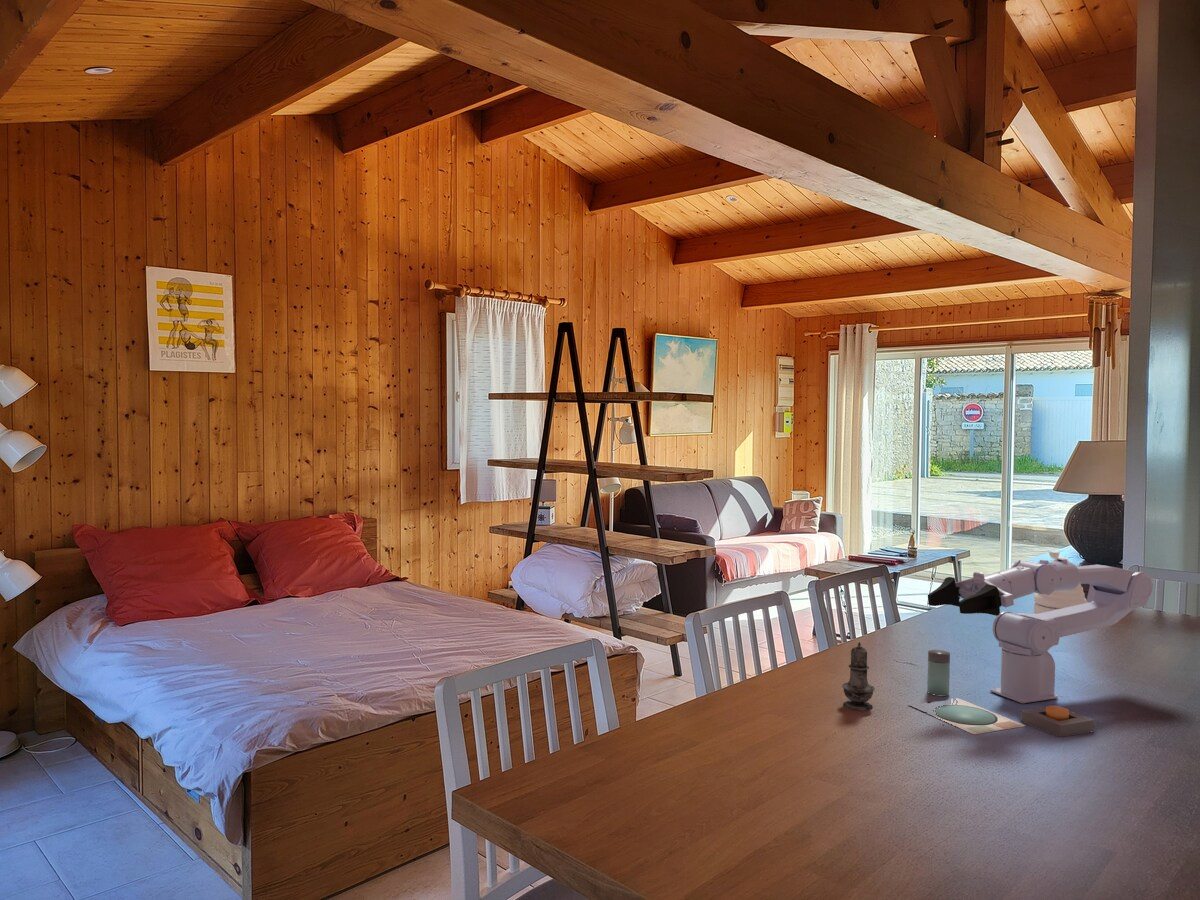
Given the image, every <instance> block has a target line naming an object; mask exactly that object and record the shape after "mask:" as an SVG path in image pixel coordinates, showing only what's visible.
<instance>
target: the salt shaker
mask: <svg viewBox="0 0 1200 900" xmlns="http://www.w3.org/2000/svg"><path fill="white" fill-rule="evenodd" d="M861 645H862V644H861V642H860V641H858V643H857V645H856V646H854V647H853V648H851V651H850V664H848V668H850V672H849V680H848V682H845V683H844V682H843V684H842V685H841V687H842V689H843V693H844V696H845V697H846V698H847V700H846V701H844V702H843V707H845V708H846V709H849V710H852V711H858V710H861V711H862V710H863V711H864V710H867V711H870V709H871V710H872V709H873V707H874V706H873V704H871V703H870V702H868V701H870V700H871V699H872V697H873V695H874V692H875V689H876V688H875V687H874V686H873V685H872V684H870V683H869V681H868V670H869V669H870V666H868V651H867V649H866V648H864V647H862V646H861ZM861 711H860V712H861ZM863 711H862V712H863Z"/></svg>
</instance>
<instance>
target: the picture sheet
mask: <svg viewBox="0 0 1200 900" xmlns="http://www.w3.org/2000/svg"><path fill="white" fill-rule="evenodd" d="M955 698H956V700H957V701H958V703H957V705H955V704H956V700H955V701H954V703H953V698H950V699H951V704H950V705H946V702H945V705H943V706H941V707H940V706H938V708H937V707H936V708H935V709H936V710H935V712H936V714H935V715H937V714H938V715H937V716H938V717H939V718H938V720H939V719H940V718H941V720H940V721H942V722H944V721H945V722H944V723H946V722H947V723H946V724H948V723H949V725H951V724H952V725H951V726H953V727H955V726H956V727H955V728H957V727H958V728H957V729H960V730H963V732H964V731H965V732H966V733H968V734H971V735H979V734H986V733H991V732H998V731H1004V730H1010V729H1017V728H1022V727H1027V724H1025V723H1024V724H1023V723H1022V722H1018V721H1016V720H1013V719H1011V718H1008V717H1006V716H1004V715H1001V714H999V713H996V712H994V711H991V710H988V709H986V708H983V707H982V706H981V707H980V706H978V705H976V704H974V703H971V702H968V701H966V700H963V699H961V698H958V697H955ZM952 703H953V705H952ZM939 708H940V709H939ZM933 712H934V709H933ZM935 719H937V717H936V718H935ZM942 719H943V720H942Z"/></svg>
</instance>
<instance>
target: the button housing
mask: <svg viewBox="0 0 1200 900" xmlns="http://www.w3.org/2000/svg"><path fill="white" fill-rule="evenodd" d="M1046 707H1047V706H1043V707H1035V708H1030V709H1023V710H1021V711H1020V712H1021V714H1020V723H1022V724H1023V723H1024V724H1025V725H1028V726H1031V727H1034V728H1036V729H1039V730H1041V731H1043V732H1046V733H1048V734H1050V735H1053V736H1056V737H1058V738H1062V737H1063V738H1064V737H1068V736H1073V735H1075V736H1076V735H1081V734H1086V733H1092V732H1091V731H1093V732H1095V719H1093V718H1090V717H1087V716H1085V715H1083V714H1079V713H1077V712H1074V711H1071V710H1069V719H1067V720H1061V721H1058V720H1056V719H1053V718H1050V717H1048V716H1046Z"/></svg>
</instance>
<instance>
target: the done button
mask: <svg viewBox="0 0 1200 900" xmlns="http://www.w3.org/2000/svg"><path fill="white" fill-rule="evenodd" d="M1045 707H1046V716H1048V717H1050V718H1053V719H1056V720H1058V721H1061V720H1067V719H1069V711H1070V709H1068V708H1066V707H1063V706H1059V705H1047V706H1045Z"/></svg>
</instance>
